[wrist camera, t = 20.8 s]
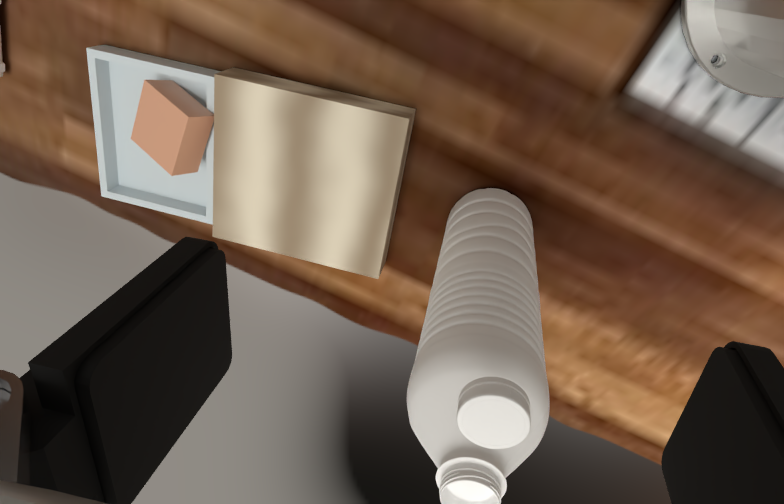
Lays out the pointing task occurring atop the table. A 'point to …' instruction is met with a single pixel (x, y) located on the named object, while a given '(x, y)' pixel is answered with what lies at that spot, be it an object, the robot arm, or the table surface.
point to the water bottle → (481, 351)
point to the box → (115, 125)
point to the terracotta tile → (171, 126)
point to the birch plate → (307, 169)
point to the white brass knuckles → (0, 65)
